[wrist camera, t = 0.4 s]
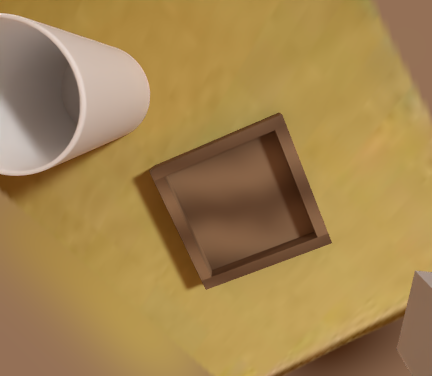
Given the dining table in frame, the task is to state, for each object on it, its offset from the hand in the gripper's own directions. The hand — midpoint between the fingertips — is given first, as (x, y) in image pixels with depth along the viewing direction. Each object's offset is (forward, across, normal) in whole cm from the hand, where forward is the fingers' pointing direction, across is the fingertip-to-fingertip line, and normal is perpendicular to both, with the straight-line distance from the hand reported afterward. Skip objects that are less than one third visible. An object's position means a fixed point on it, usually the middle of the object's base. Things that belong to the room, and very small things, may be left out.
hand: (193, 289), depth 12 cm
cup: (+26, -11, +4) cm, 28 cm away
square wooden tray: (+25, +2, -4) cm, 26 cm away
